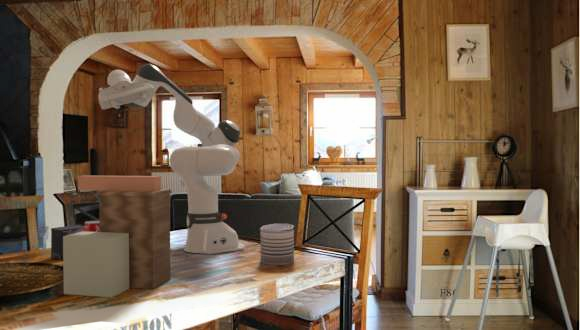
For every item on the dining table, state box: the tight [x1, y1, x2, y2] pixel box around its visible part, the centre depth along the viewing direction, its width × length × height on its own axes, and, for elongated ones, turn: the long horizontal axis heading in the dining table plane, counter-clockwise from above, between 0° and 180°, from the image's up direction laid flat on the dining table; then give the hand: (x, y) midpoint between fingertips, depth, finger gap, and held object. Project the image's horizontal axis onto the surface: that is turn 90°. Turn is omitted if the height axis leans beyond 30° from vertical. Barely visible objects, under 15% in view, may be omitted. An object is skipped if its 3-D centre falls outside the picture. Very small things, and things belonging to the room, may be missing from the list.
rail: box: [77, 175, 162, 191], centre depth 135 cm, size 24×4×4 cm, turn 77°
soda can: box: [83, 220, 100, 232], centre depth 165 cm, size 7×7×13 cm
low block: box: [62, 231, 130, 298], centre depth 126 cm, size 14×8×15 cm, turn 78°
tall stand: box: [96, 188, 172, 290], centre depth 135 cm, size 17×11×26 cm, turn 78°
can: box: [259, 223, 295, 266], centre depth 162 cm, size 11×11×12 cm
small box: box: [50, 224, 84, 261], centre depth 170 cm, size 11×6×10 cm, turn 148°
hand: (131, 103), depth 173 cm, fingers open, 8 cm apart
